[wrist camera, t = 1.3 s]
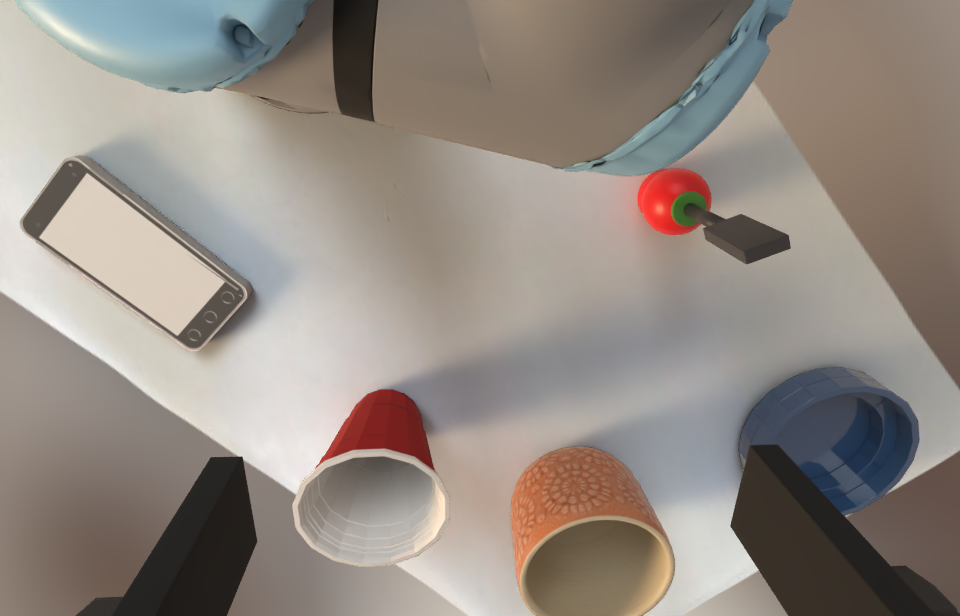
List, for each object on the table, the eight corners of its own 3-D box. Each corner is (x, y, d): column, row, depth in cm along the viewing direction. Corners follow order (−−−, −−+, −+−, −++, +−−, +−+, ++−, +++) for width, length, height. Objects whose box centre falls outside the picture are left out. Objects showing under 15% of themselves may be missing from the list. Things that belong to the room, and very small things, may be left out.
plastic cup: (375, 486, 52) (356, 597, 41) (300, 405, 48) (257, 502, 37) (473, 431, 50) (481, 531, 39) (403, 341, 46) (390, 424, 35)
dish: (723, 396, 50) (745, 421, 46) (878, 342, 49) (914, 363, 45) (750, 508, 55) (772, 539, 52) (890, 462, 54) (923, 490, 50)
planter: (637, 424, 51) (685, 510, 41) (627, 528, 55) (667, 628, 45) (503, 431, 50) (518, 520, 40) (504, 536, 55) (517, 638, 45)
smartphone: (195, 355, 44) (14, 227, 40) (201, 349, 45) (25, 223, 41) (251, 293, 42) (69, 152, 38) (256, 288, 43) (79, 150, 39)
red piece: (625, 177, 42) (714, 224, 28) (686, 154, 42) (806, 190, 28) (640, 234, 44) (731, 305, 30) (699, 212, 43) (818, 274, 30)
